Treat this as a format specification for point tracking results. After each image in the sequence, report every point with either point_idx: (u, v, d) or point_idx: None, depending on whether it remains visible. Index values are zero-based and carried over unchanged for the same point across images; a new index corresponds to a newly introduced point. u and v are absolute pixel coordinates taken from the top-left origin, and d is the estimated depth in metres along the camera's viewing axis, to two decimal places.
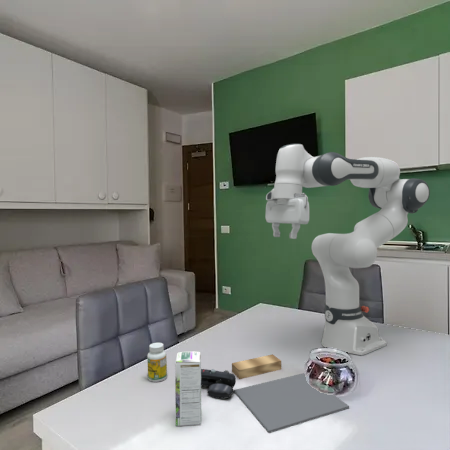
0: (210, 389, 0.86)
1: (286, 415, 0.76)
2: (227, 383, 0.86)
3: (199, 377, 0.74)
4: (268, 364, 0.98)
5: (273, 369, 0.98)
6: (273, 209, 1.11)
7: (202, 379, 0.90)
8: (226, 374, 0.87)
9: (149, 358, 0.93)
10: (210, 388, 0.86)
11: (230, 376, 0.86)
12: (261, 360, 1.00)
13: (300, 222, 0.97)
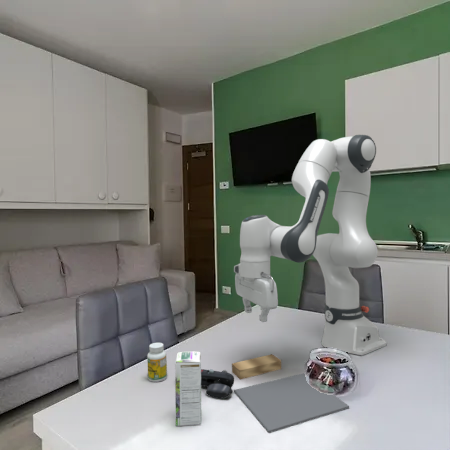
0: (208, 389, 0.86)
1: (286, 415, 0.76)
2: (226, 383, 0.86)
3: (199, 377, 0.74)
4: (268, 364, 0.98)
5: (273, 369, 0.99)
6: (242, 283, 1.03)
7: None
8: (224, 374, 0.87)
9: (149, 358, 0.93)
10: (208, 388, 0.86)
11: (228, 376, 0.86)
12: (261, 360, 1.00)
13: (268, 308, 0.89)
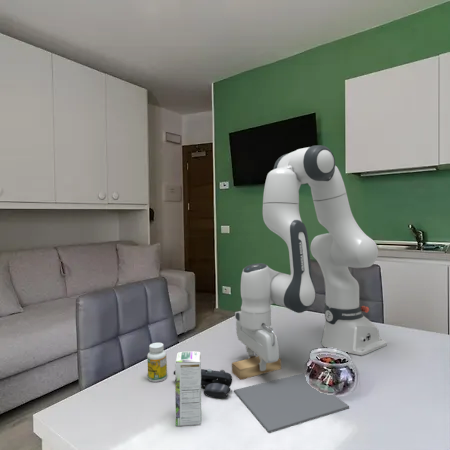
0: (207, 389, 0.86)
1: (286, 415, 0.76)
2: (224, 382, 0.87)
3: (199, 377, 0.74)
4: (268, 363, 0.98)
5: (273, 368, 0.99)
6: (243, 330, 1.03)
7: None
8: (223, 373, 0.87)
9: (149, 358, 0.93)
10: (207, 388, 0.86)
11: (227, 375, 0.87)
12: None
13: (269, 362, 0.89)
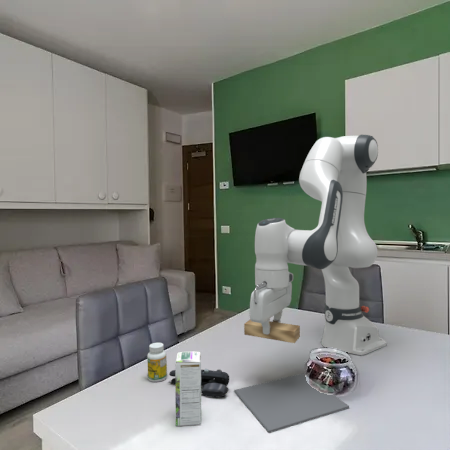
0: (204, 389, 0.86)
1: (286, 415, 0.76)
2: (221, 382, 0.87)
3: (199, 377, 0.74)
4: (278, 330, 0.86)
5: (284, 337, 0.86)
6: None
7: None
8: (220, 373, 0.87)
9: (149, 358, 0.93)
10: (204, 388, 0.86)
11: (224, 375, 0.87)
12: (278, 325, 0.89)
13: (251, 320, 0.82)
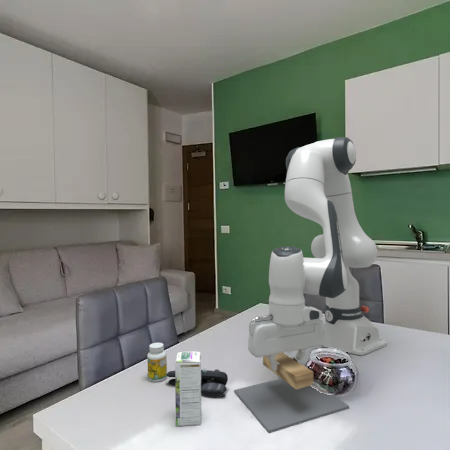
0: (203, 389, 0.86)
1: (286, 415, 0.76)
2: (220, 381, 0.87)
3: (199, 377, 0.74)
4: (284, 369, 0.80)
5: (288, 380, 0.78)
6: None
7: None
8: (218, 373, 0.88)
9: (149, 358, 0.93)
10: (203, 388, 0.86)
11: (222, 374, 0.87)
12: (292, 364, 0.82)
13: None
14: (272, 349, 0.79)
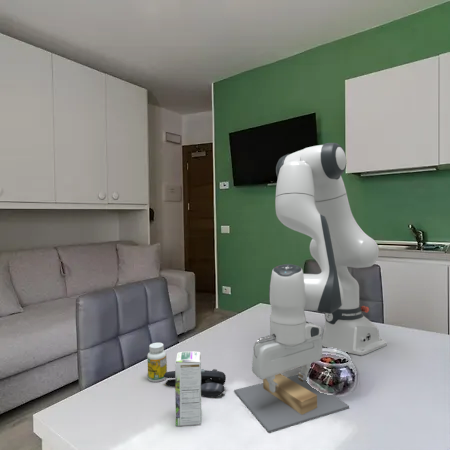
0: (201, 389, 0.86)
1: (286, 415, 0.76)
2: (218, 381, 0.87)
3: (199, 377, 0.74)
4: (288, 394, 0.80)
5: (293, 405, 0.78)
6: None
7: None
8: (216, 373, 0.88)
9: (149, 358, 0.93)
10: (201, 388, 0.86)
11: (221, 374, 0.87)
12: (295, 388, 0.82)
13: (254, 373, 0.79)
14: (276, 369, 0.79)
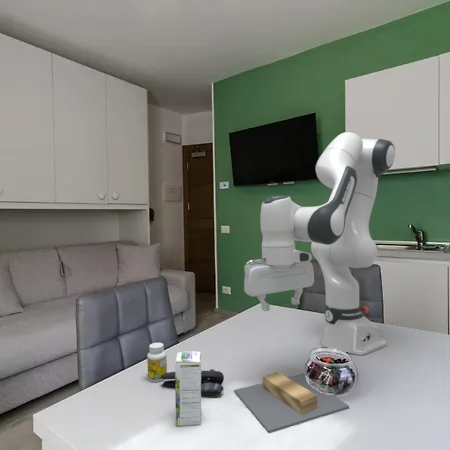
0: None
1: (286, 415, 0.76)
2: (216, 381, 0.87)
3: (199, 377, 0.74)
4: (288, 394, 0.80)
5: (293, 405, 0.78)
6: None
7: None
8: (214, 372, 0.88)
9: (149, 358, 0.93)
10: None
11: (219, 374, 0.87)
12: (295, 388, 0.82)
13: (246, 293, 0.87)
14: (266, 289, 0.86)
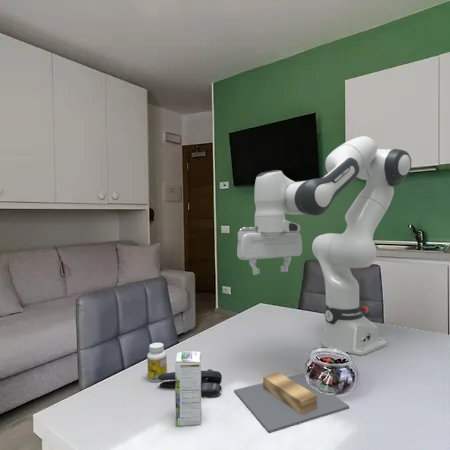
0: None
1: (286, 415, 0.76)
2: (214, 381, 0.88)
3: (199, 377, 0.74)
4: (288, 394, 0.80)
5: (293, 405, 0.78)
6: None
7: None
8: (212, 372, 0.88)
9: (149, 358, 0.93)
10: None
11: (217, 374, 0.88)
12: (295, 388, 0.82)
13: (238, 257, 0.95)
14: (257, 254, 0.94)
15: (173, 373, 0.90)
